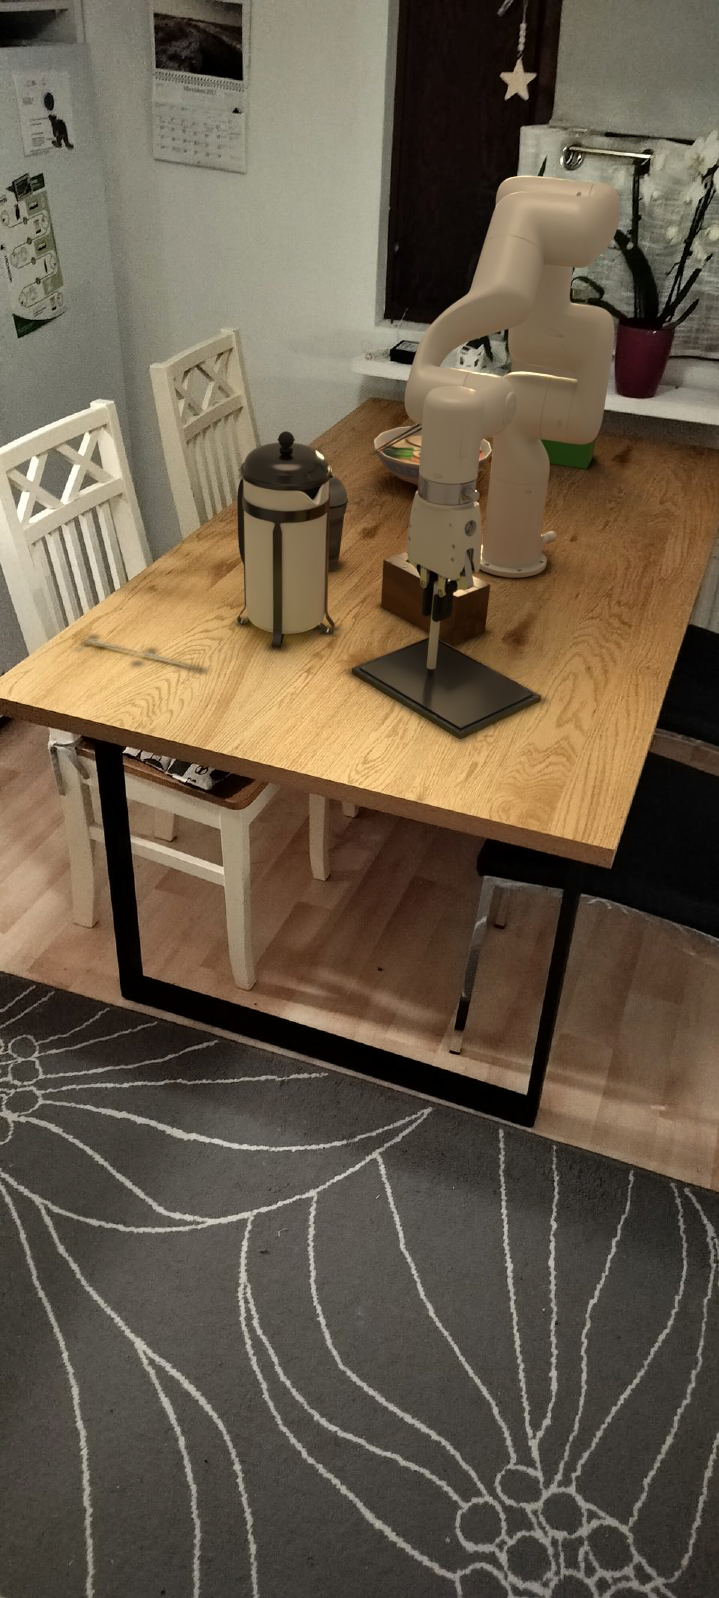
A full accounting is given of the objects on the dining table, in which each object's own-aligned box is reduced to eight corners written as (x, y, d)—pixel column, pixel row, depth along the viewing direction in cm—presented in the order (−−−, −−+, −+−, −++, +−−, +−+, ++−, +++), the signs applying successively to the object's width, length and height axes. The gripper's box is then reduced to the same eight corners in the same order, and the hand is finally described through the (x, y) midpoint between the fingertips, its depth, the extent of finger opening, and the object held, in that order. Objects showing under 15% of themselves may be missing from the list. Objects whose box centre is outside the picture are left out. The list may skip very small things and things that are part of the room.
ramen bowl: (451, 515, 219) (455, 472, 214) (346, 487, 228) (347, 445, 223) (510, 476, 236) (515, 435, 231) (410, 451, 245) (413, 411, 241)
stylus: (194, 670, 167) (77, 642, 172) (194, 676, 168) (77, 648, 173) (207, 657, 170) (92, 630, 176) (207, 663, 171) (92, 636, 176)
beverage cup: (341, 577, 196) (344, 458, 184) (298, 571, 197) (299, 453, 185) (350, 559, 202) (354, 443, 190) (308, 554, 203) (310, 438, 191)
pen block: (412, 594, 192) (416, 548, 187) (485, 632, 182) (490, 584, 177) (380, 606, 188) (383, 559, 183) (453, 645, 178) (457, 597, 174)
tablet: (351, 672, 170) (351, 666, 170) (431, 640, 179) (431, 634, 179) (460, 739, 157) (460, 732, 157) (540, 700, 166) (541, 694, 166)
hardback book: (501, 455, 245) (514, 335, 231) (510, 444, 251) (523, 325, 237) (586, 468, 241) (605, 346, 227) (592, 456, 247) (611, 337, 233)
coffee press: (346, 609, 187) (353, 418, 169) (321, 656, 174) (325, 455, 156) (241, 594, 190) (236, 405, 172) (208, 640, 177) (199, 441, 159)
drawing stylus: (430, 670, 170) (438, 579, 162) (437, 673, 169) (445, 583, 161) (424, 672, 169) (432, 582, 161) (430, 676, 168) (439, 585, 160)
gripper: (511, 499, 151) (495, 629, 161) (426, 463, 160) (417, 588, 171) (469, 513, 147) (456, 645, 157) (385, 475, 156) (378, 603, 167)
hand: (436, 615), depth 164 cm, fingers closed on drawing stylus, 1 cm apart
